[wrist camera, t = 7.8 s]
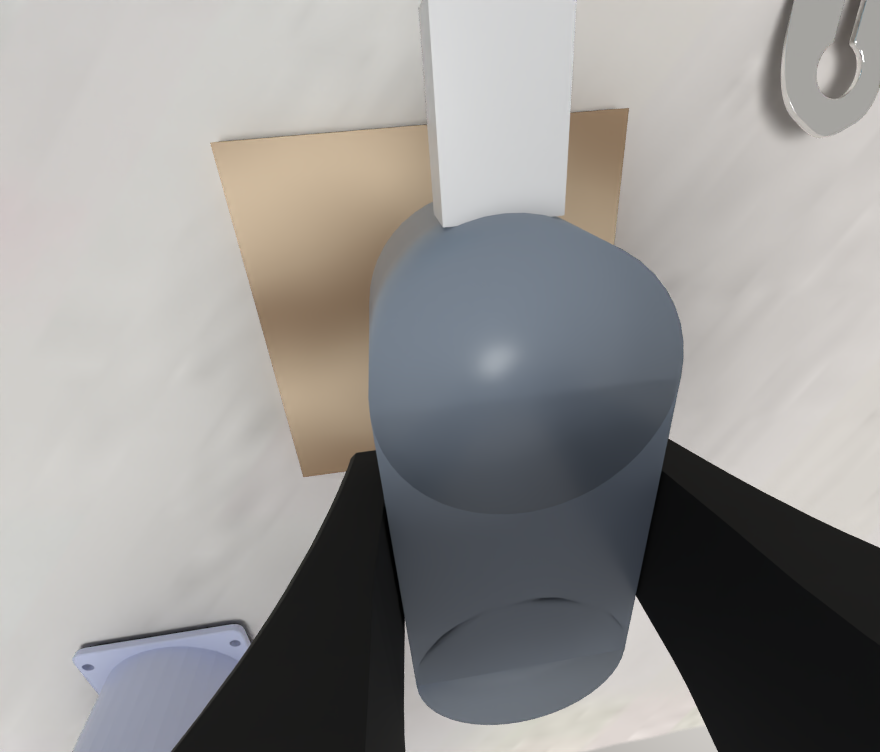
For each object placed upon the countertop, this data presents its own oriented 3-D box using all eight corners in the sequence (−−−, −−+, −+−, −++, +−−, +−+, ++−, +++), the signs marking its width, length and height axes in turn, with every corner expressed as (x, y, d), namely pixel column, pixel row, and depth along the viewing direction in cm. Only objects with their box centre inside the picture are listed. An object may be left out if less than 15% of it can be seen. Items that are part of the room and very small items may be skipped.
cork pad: (585, 426, 20) (592, 437, 20) (305, 464, 19) (303, 477, 19) (616, 108, 14) (628, 108, 14) (218, 141, 13) (210, 142, 13)
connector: (555, 567, 13) (612, 704, 10) (413, 590, 13) (425, 739, 10) (597, 14, 7) (773, -69, 4) (326, 32, 7) (289, -44, 4)
